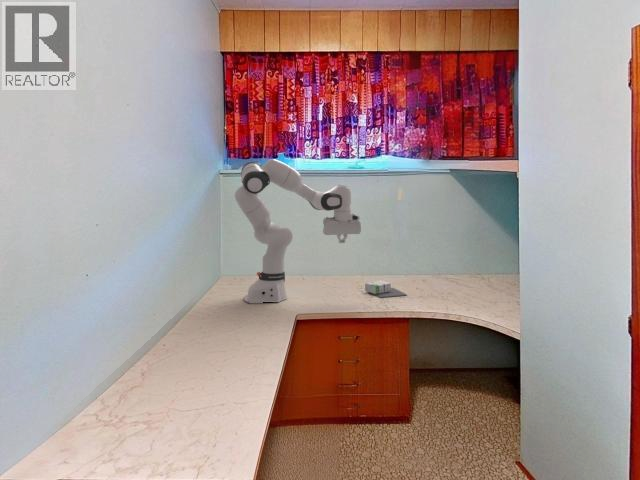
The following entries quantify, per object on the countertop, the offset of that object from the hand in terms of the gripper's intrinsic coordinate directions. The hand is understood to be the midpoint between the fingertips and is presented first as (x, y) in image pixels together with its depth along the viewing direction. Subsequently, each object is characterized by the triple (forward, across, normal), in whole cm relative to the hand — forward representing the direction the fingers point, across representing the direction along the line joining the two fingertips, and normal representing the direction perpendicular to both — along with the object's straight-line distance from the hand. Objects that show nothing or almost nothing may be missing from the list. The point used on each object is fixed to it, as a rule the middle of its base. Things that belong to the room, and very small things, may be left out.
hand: (341, 242), depth 230 cm
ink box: (+26, +17, +1) cm, 31 cm away
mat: (+29, +27, 0) cm, 40 cm away
